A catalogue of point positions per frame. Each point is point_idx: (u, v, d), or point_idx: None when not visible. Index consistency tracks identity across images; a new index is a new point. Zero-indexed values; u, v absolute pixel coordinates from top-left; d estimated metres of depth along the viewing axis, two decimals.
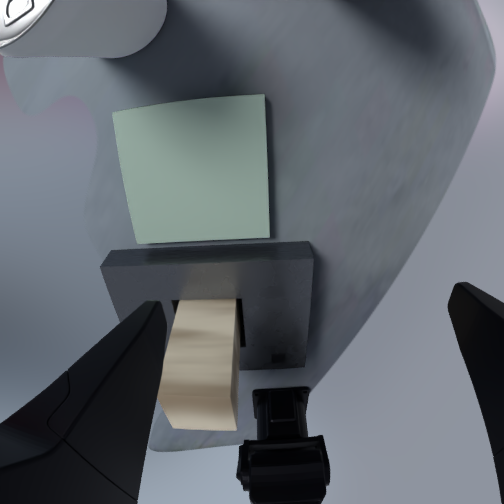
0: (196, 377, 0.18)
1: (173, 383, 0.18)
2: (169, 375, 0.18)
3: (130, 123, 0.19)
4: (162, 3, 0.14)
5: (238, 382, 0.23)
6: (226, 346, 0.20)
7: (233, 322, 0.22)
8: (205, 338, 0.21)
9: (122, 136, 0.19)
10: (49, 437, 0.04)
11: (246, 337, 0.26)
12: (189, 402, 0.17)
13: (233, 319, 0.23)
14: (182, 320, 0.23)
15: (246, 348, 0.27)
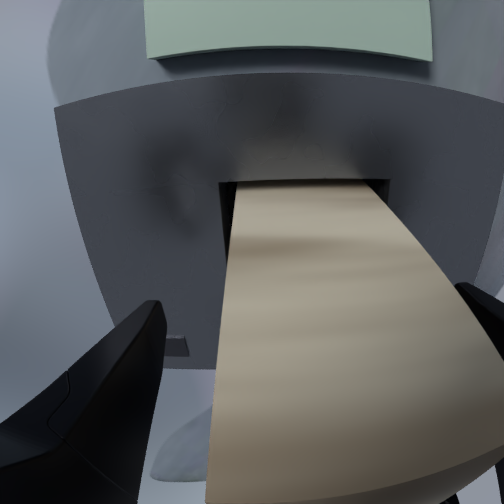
0: (392, 385, 0.04)
1: (293, 434, 0.03)
2: (262, 395, 0.04)
3: None
4: None
5: None
6: (424, 270, 0.06)
7: (398, 221, 0.08)
8: (349, 255, 0.07)
9: None
10: (50, 438, 0.04)
11: None
12: (373, 499, 0.03)
13: (393, 216, 0.08)
14: (258, 220, 0.08)
15: None
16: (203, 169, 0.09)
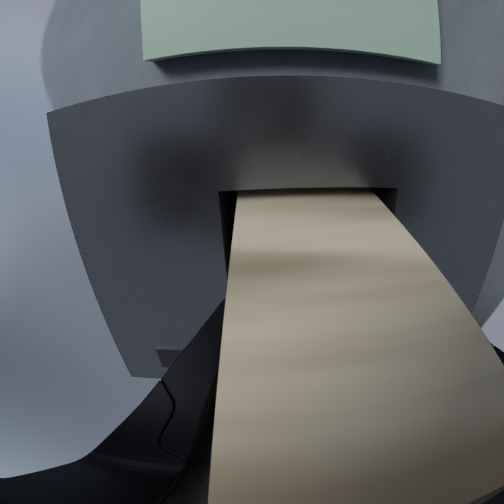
0: (404, 422, 0.03)
1: (299, 477, 0.03)
2: (264, 436, 0.03)
3: None
4: None
5: None
6: (435, 289, 0.05)
7: (407, 233, 0.07)
8: (357, 273, 0.06)
9: None
10: (170, 462, 0.04)
11: None
12: None
13: (401, 228, 0.08)
14: (260, 233, 0.08)
15: None
16: (202, 177, 0.09)
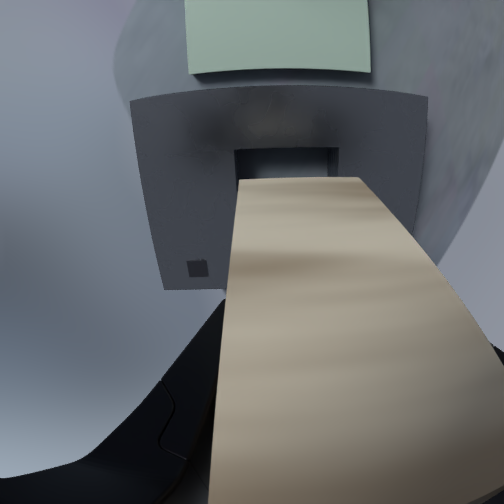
0: (403, 422, 0.03)
1: (299, 477, 0.03)
2: (265, 435, 0.03)
3: None
4: None
5: None
6: (435, 290, 0.05)
7: (407, 233, 0.07)
8: (357, 273, 0.06)
9: None
10: (170, 462, 0.04)
11: None
12: None
13: (401, 228, 0.08)
14: (260, 233, 0.08)
15: None
16: (225, 141, 0.16)
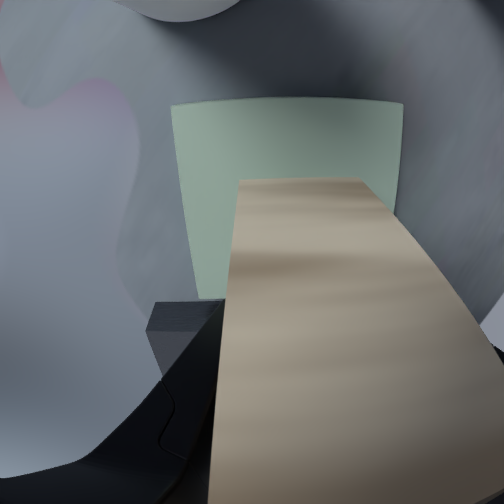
0: (404, 424, 0.03)
1: (299, 480, 0.03)
2: (264, 438, 0.03)
3: (202, 125, 0.12)
4: None
5: None
6: (437, 291, 0.05)
7: (408, 234, 0.07)
8: (357, 274, 0.06)
9: (187, 145, 0.13)
10: (170, 462, 0.04)
11: None
12: None
13: (402, 229, 0.08)
14: (260, 233, 0.08)
15: None
16: None
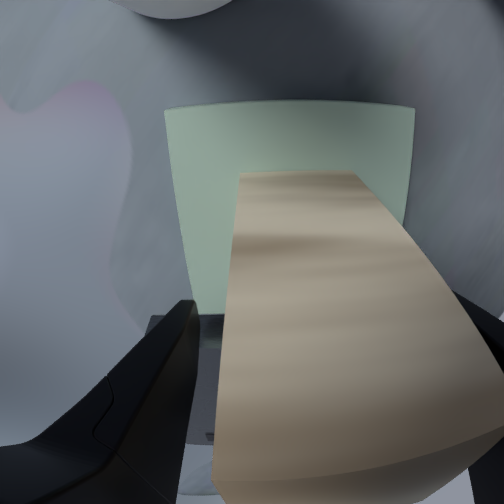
0: (384, 373, 0.04)
1: (292, 417, 0.04)
2: (263, 383, 0.04)
3: (197, 131, 0.11)
4: None
5: None
6: (417, 267, 0.06)
7: (393, 219, 0.08)
8: (345, 252, 0.07)
9: (182, 153, 0.12)
10: (98, 450, 0.04)
11: None
12: (367, 481, 0.03)
13: (389, 215, 0.09)
14: (259, 218, 0.09)
15: None
16: None
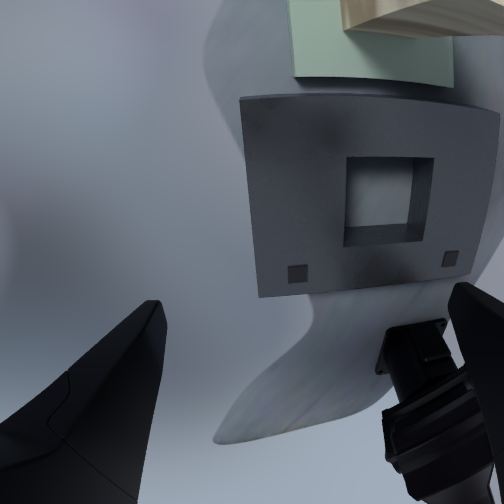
0: None
1: None
2: None
3: None
4: None
5: (489, 33, 0.07)
6: None
7: None
8: None
9: None
10: (50, 438, 0.04)
11: (426, 223, 0.18)
12: None
13: None
14: None
15: (422, 243, 0.18)
16: (339, 149, 0.15)
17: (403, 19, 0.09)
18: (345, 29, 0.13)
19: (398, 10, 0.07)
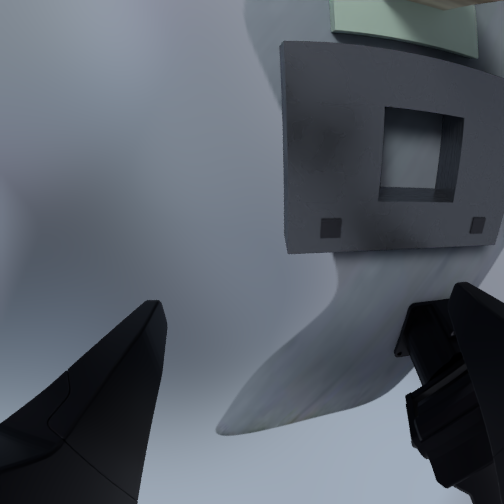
0: None
1: None
2: None
3: None
4: None
5: None
6: None
7: None
8: None
9: None
10: (50, 438, 0.04)
11: (457, 184, 0.16)
12: None
13: None
14: None
15: (452, 205, 0.17)
16: (378, 97, 0.14)
17: None
18: None
19: None
